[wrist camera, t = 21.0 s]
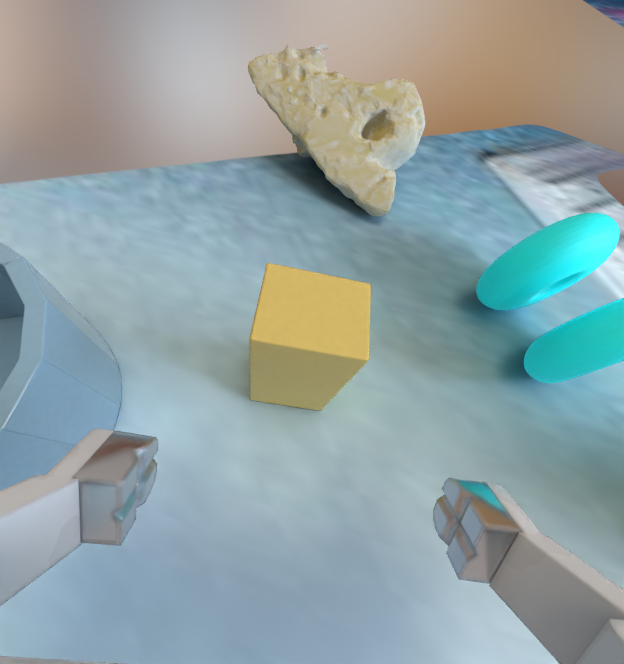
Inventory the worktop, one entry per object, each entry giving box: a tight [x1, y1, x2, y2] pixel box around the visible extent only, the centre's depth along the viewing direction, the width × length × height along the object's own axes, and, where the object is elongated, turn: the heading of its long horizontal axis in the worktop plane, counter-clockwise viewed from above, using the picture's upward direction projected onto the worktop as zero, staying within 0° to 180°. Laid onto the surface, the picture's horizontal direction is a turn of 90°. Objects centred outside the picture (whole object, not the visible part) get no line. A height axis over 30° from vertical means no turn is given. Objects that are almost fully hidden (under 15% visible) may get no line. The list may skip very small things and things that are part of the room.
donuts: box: [476, 213, 624, 383], centre depth 24 cm, size 10×10×10 cm
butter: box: [250, 263, 371, 411], centre depth 18 cm, size 4×5×10 cm
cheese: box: [248, 44, 425, 217], centre depth 31 cm, size 15×7×15 cm
